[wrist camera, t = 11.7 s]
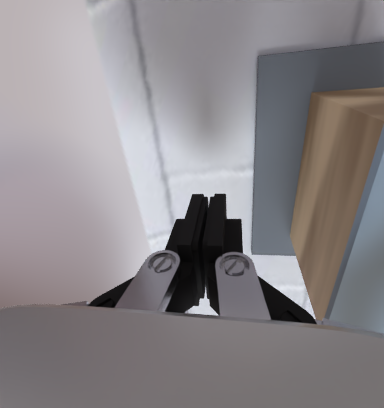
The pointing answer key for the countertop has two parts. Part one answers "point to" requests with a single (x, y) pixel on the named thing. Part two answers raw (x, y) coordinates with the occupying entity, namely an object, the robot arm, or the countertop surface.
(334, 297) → the oak slab
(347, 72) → the mat
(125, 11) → the countertop surface
